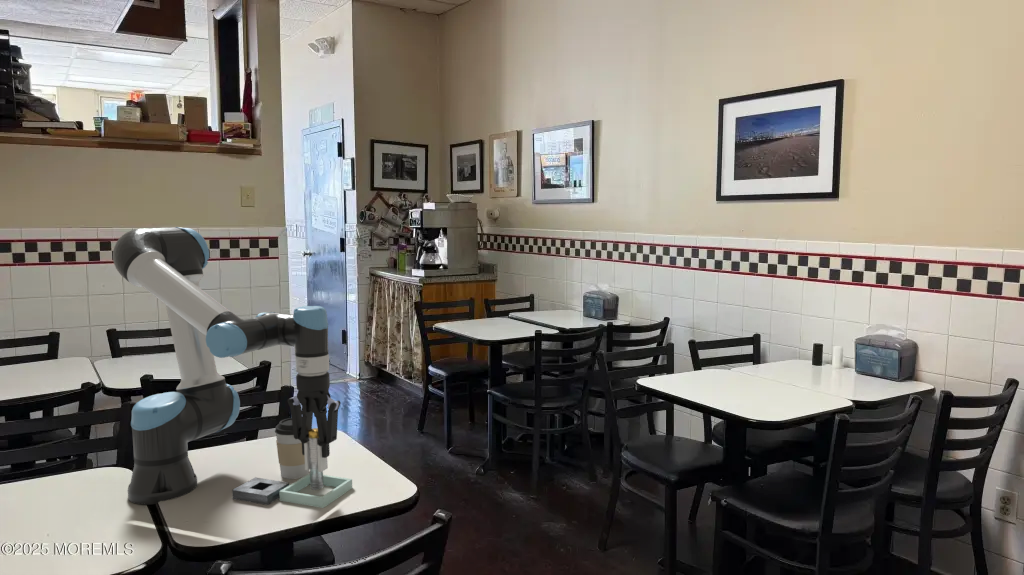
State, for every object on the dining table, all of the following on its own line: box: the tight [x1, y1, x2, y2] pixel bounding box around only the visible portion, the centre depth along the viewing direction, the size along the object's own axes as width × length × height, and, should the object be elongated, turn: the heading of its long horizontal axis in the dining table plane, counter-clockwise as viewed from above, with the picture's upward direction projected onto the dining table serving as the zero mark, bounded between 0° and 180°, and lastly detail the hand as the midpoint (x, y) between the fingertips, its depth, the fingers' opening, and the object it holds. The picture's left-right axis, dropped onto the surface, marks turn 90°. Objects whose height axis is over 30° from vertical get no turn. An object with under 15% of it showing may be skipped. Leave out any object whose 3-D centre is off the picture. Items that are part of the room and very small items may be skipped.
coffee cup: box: [274, 417, 310, 480], centre depth 176 cm, size 9×9×15 cm
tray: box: [279, 472, 353, 509], centre depth 164 cm, size 12×12×3 cm
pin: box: [308, 427, 325, 491], centre depth 163 cm, size 3×3×14 cm
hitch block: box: [231, 476, 291, 506], centre depth 163 cm, size 10×8×3 cm
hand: (316, 468), depth 163 cm, fingers closed on pin, 3 cm apart
